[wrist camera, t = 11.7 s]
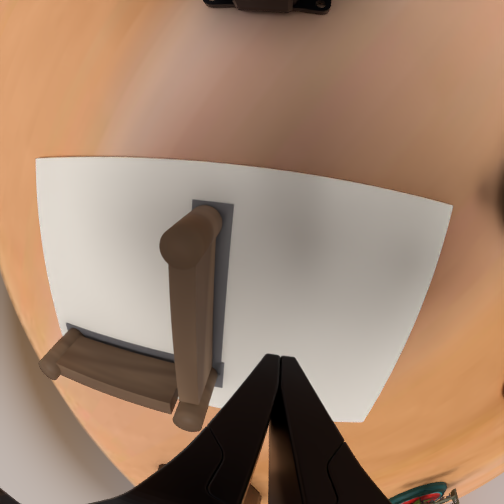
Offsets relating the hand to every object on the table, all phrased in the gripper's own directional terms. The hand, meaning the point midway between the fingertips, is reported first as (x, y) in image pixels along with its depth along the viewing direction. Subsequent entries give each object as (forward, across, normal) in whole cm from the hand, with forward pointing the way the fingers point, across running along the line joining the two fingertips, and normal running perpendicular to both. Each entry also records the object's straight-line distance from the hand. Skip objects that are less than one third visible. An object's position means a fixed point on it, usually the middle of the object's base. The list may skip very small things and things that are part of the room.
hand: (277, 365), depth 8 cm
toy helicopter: (+9, -28, +36) cm, 46 cm away
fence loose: (+8, +4, +3) cm, 9 cm away
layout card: (+9, +4, +4) cm, 11 cm away
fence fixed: (+9, +10, +10) cm, 16 cm away
